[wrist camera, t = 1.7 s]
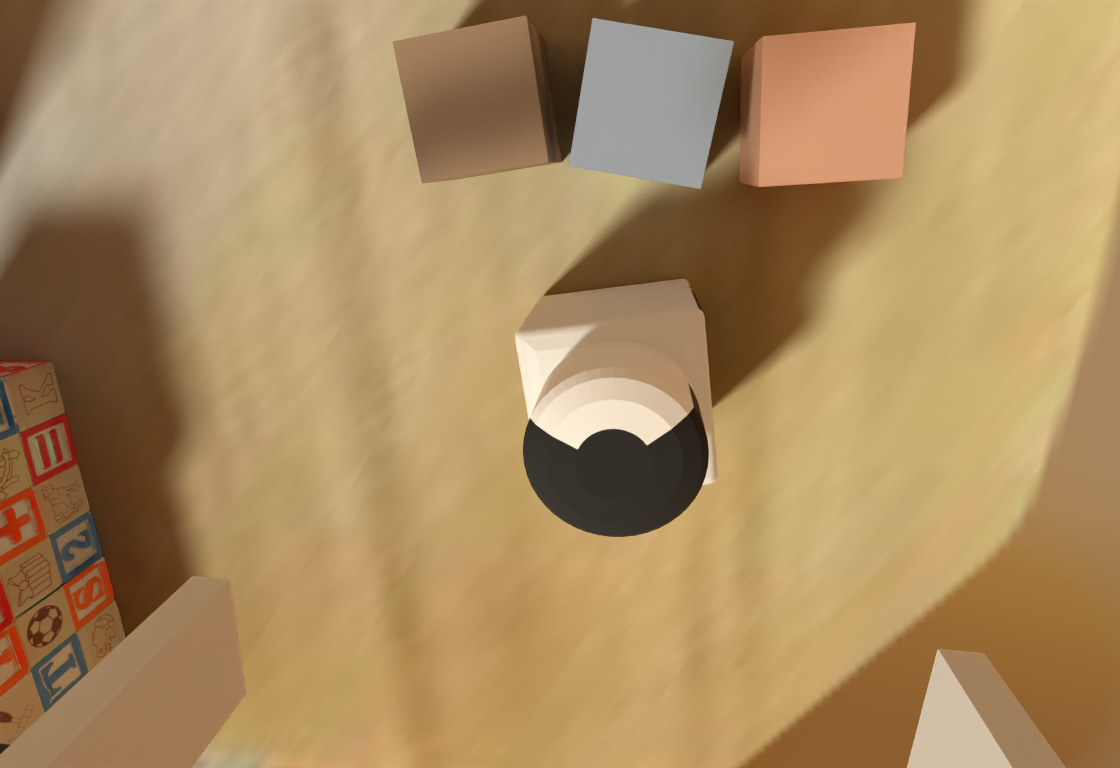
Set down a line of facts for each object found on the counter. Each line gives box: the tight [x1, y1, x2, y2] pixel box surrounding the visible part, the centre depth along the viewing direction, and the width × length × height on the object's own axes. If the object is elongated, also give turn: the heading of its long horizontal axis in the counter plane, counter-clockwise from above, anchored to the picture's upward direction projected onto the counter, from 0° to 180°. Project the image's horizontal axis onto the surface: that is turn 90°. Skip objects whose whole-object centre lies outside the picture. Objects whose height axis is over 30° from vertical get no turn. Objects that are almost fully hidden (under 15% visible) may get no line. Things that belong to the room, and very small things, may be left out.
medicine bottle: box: [515, 279, 717, 537], centre depth 27 cm, size 7×7×12 cm
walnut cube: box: [393, 15, 562, 183], centre depth 27 cm, size 5×5×5 cm
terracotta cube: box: [739, 22, 916, 187], centre depth 26 cm, size 5×5×5 cm
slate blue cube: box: [569, 18, 734, 189], centre depth 26 cm, size 5×5×5 cm
